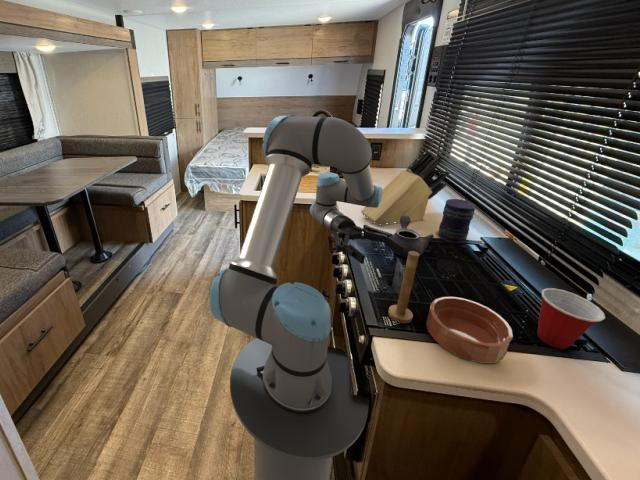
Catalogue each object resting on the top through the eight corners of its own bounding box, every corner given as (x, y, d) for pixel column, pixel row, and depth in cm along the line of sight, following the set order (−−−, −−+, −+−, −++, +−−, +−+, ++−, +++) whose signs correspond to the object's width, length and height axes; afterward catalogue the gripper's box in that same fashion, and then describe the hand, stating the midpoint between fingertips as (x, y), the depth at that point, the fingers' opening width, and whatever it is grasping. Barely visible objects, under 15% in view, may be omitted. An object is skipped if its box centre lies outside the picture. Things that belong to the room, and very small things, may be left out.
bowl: (434, 355, 73) (440, 336, 71) (419, 308, 88) (423, 292, 85) (518, 373, 68) (527, 353, 66) (488, 320, 83) (494, 303, 81)
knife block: (441, 218, 142) (457, 152, 130) (374, 227, 135) (385, 158, 123) (422, 208, 152) (436, 147, 140) (359, 217, 145) (368, 152, 133)
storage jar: (450, 244, 120) (460, 209, 114) (431, 233, 129) (439, 200, 123) (472, 241, 122) (482, 207, 116) (452, 230, 130) (460, 197, 125)
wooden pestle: (389, 320, 84) (402, 257, 76) (386, 306, 89) (399, 245, 81) (414, 325, 82) (430, 261, 74) (409, 310, 87) (424, 249, 80)
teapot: (437, 261, 109) (443, 237, 105) (391, 258, 112) (395, 234, 108) (418, 236, 126) (423, 214, 123) (378, 234, 129) (382, 212, 125)
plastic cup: (592, 366, 69) (616, 325, 65) (529, 346, 75) (547, 307, 70) (576, 334, 78) (596, 296, 73) (521, 318, 83) (536, 282, 79)
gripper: (368, 228, 112) (414, 258, 93) (307, 240, 105) (344, 274, 87) (371, 209, 109) (419, 236, 91) (308, 220, 103) (347, 252, 84)
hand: (383, 255), depth 89 cm, fingers open, 13 cm apart
